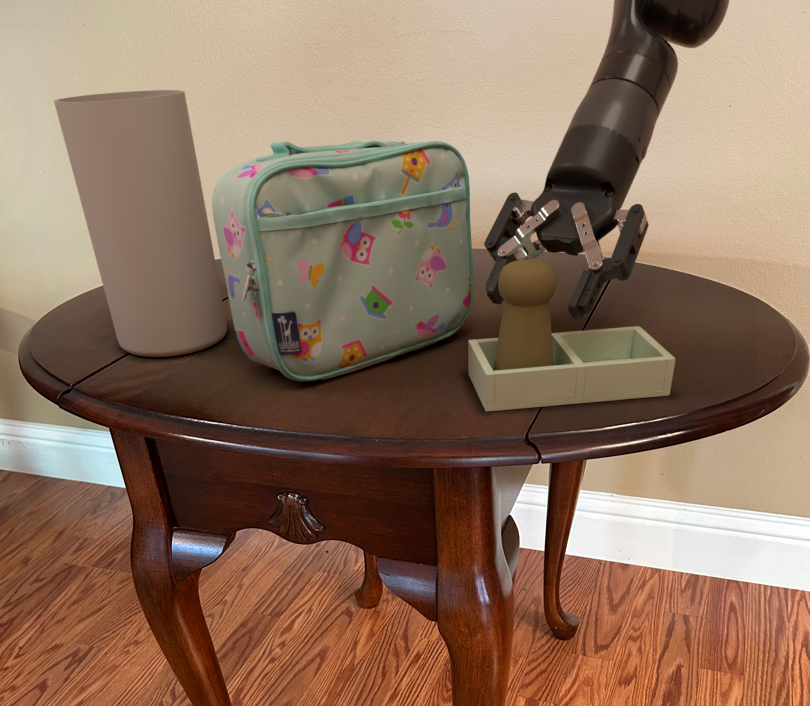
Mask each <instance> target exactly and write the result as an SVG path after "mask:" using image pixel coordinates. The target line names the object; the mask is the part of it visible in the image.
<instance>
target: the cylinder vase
mask: <svg viewBox="0 0 810 706" xmlns="http://www.w3.org/2000/svg"><path fill="white" fill-rule="evenodd" d="M53 103H54V106H55V111H56V114H57V118H58V121H59V125H60V129H61V133H62V136H63V140H64V144H65V147H66V151H67V155H68V160H69V162H70V167H71V171H72V175H73V178H74V182H75V185H76V188H77V189H76V190H77V193H78V196H79V197H78V198H79V200H80V203H81V209H82V211H83V216H84V220H85V223H86V226H87V230H88V234H89V239H90V241H91V245H92V246H91V247H92V249H93V252H94V257H95V260H96V265H97V268H98V272H99V275H100V280H101V282H102V287H103V290H104V294H105V297H106V301H107V305H108V306H107V307H108V309H109V313H110V316H111V320H112V324H113V328H114V331H115V335H116V339H117V343H118V345H119V346H120V347H121V349H122V350H123V351H125V352H126V353H128V354H131V355H134V356H139V357H144V358H145V357H146V358H169V357H176V356H183V355H188V354H192V353H196V352H200V351H203V350H205V349H207V348H208V349H209V348H210V347H212V346H215V344H217V343H218V342H220V341H221V340H223V338H224V337H225V336H226V334H227V331H228V324H227V319H226V313H225V308H224V303H223V296H222V290H221V286H220V285H221V284H220V281H219V275H218V270H217V264H216V258H215V254H214V248H213V241H212V236H211V230H210V225H209V220H208V219H209V218H208V213H207V208H206V204H205V203H206V202H205V198H204V192H203V191H204V190H203V187H202V181H201V175H200V170H199V164H198V159H197V154H196V148H195V143H194V136H193V131H192V127H191V126H192V125H191V120H190V115H189V108H188V103H187V98H186V92H185V90H180V89H156V90H155V89H153V90H133V91H131V90H130V91H119V92H118V91H117V92H105V93H95V94H85V95H76V96H69V97H68V96H67V97H63V98H57V99H54V100H53Z"/></svg>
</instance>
